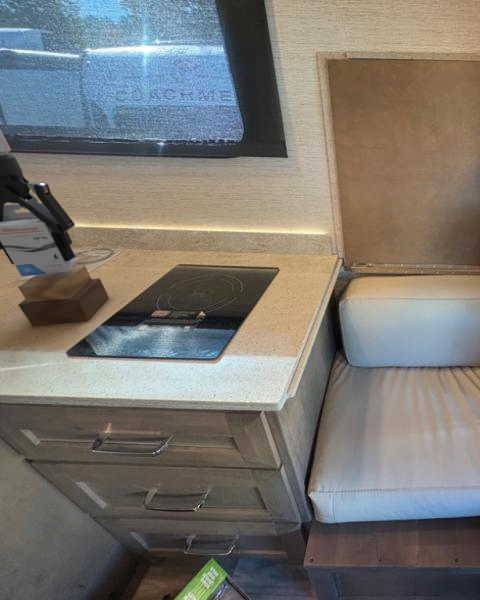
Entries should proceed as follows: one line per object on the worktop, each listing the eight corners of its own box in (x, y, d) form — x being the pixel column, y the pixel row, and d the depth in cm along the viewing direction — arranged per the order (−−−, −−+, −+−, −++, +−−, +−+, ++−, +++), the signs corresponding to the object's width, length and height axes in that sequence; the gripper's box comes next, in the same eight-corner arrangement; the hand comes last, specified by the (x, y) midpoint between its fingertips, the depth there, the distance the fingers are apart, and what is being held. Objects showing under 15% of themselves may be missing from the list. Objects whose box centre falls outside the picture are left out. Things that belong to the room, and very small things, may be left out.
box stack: (32, 326, 77) (7, 289, 72) (59, 302, 86) (39, 267, 81) (88, 320, 80) (68, 284, 74) (109, 298, 89) (93, 264, 83)
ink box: (20, 277, 73) (-21, 211, 66) (30, 268, 77) (-7, 205, 69) (69, 271, 76) (36, 208, 69) (77, 263, 80) (46, 202, 73)
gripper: (64, 151, 70) (108, 251, 81) (-71, 150, 64) (-4, 257, 76) (41, 157, 64) (93, 263, 75) (-110, 156, 58) (-30, 271, 70)
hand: (44, 260), depth 76 cm, fingers closed on ink box, 9 cm apart
